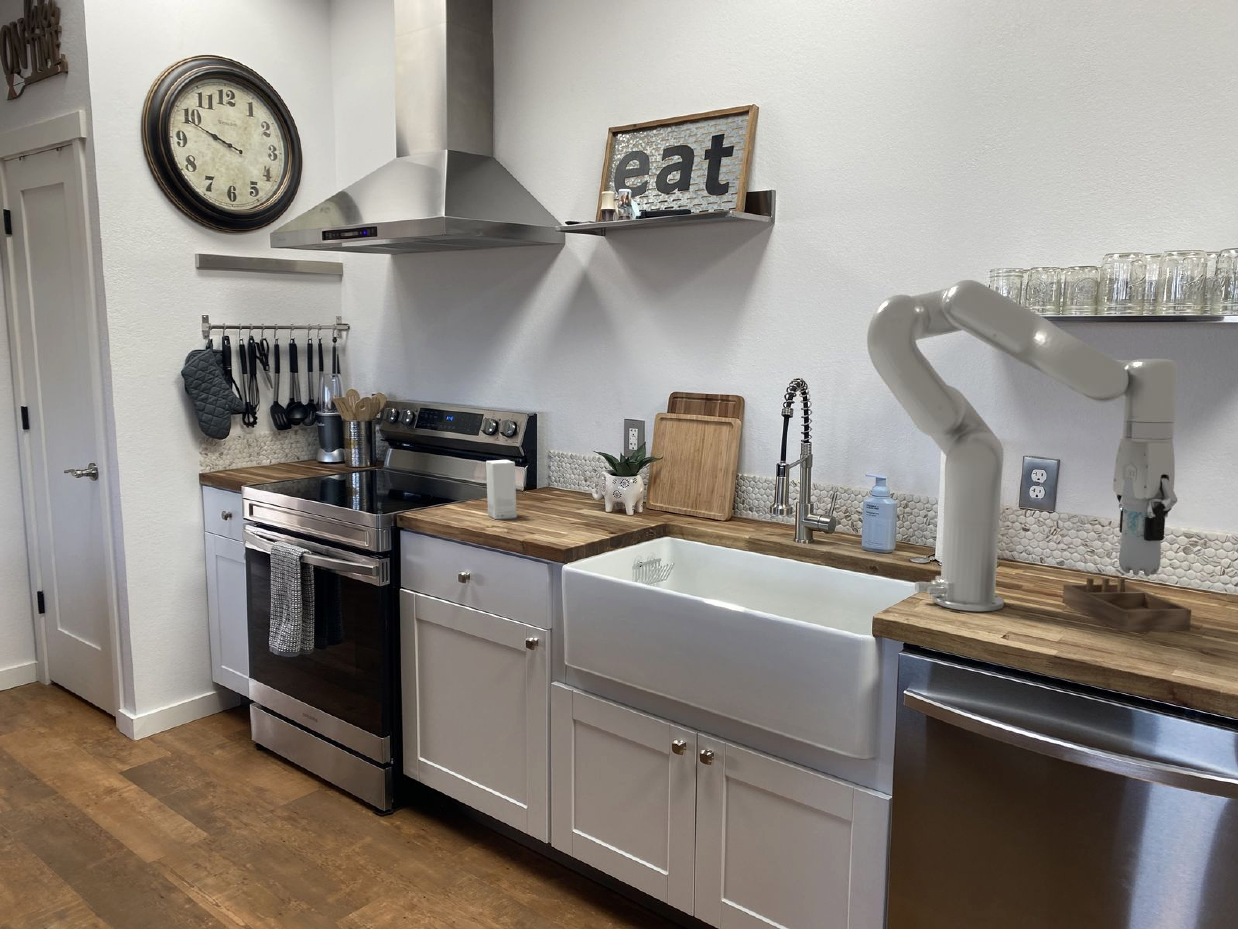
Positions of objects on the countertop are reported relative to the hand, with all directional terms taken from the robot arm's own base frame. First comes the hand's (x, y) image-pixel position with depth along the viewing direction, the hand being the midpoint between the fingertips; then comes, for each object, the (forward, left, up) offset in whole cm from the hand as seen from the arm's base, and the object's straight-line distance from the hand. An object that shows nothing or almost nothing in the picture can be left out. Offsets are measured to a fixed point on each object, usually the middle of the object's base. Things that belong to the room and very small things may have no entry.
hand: (1141, 535), depth 162 cm
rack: (0, +3, -15) cm, 15 cm away
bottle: (0, 0, -7) cm, 7 cm away
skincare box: (-113, +108, -15) cm, 157 cm away
